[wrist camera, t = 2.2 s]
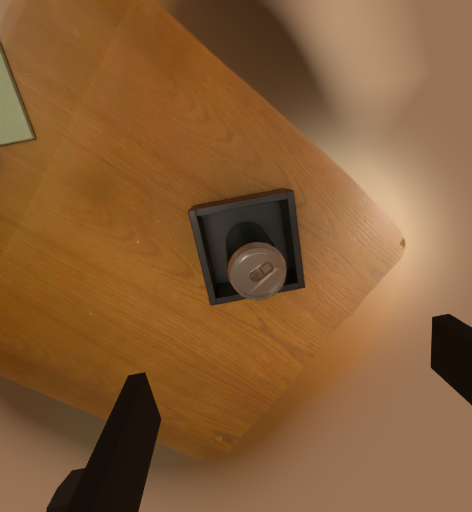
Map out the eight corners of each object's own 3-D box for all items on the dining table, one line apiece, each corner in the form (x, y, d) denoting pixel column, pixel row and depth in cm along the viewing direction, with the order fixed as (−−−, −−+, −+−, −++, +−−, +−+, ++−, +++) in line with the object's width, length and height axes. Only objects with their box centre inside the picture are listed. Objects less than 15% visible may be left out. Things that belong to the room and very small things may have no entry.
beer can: (251, 212, 34) (266, 232, 22) (274, 246, 35) (300, 280, 24) (217, 237, 35) (215, 269, 23) (241, 269, 36) (250, 313, 25)
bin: (283, 188, 34) (293, 190, 29) (294, 273, 37) (305, 287, 32) (192, 205, 34) (187, 210, 29) (211, 289, 37) (210, 305, 32)
